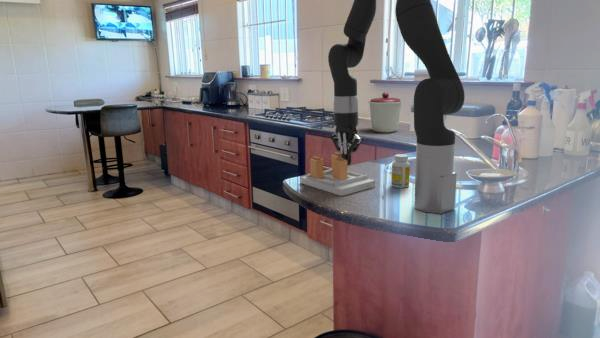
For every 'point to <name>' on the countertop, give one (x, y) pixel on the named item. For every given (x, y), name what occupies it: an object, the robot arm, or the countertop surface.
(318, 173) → the tab
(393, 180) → the supplement bottle
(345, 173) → the tab
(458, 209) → the countertop surface
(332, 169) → the tab
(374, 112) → the canister
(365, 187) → the switch bank
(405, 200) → the countertop surface
